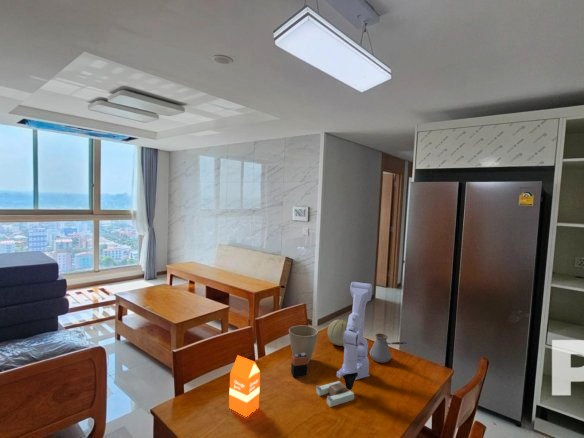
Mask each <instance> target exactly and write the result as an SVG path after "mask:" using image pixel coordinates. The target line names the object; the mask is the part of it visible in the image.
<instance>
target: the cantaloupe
mask: <svg viewBox="0 0 584 438" xmlns="http://www.w3.org/2000/svg"><path fill="white" fill-rule="evenodd" d="M347 323H348V321H346V320H344V318H343V317H342V318H341V319H334V320H333V321H331V322H330V323H329V325H328V326H327V327H328V328H327V337H328V339H329V342H330V343H332V344H333V345H336V346H338V347H344V342H343V335H344V331H345V330H346V328H347Z"/></svg>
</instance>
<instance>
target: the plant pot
mask: <svg viewBox="0 0 584 438" xmlns="http://www.w3.org/2000/svg"><path fill="white" fill-rule="evenodd" d="M318 333H319V332H318V329H317V328H315V327H313V326H309V325H300V324H299V325H295V326H291V327H290V328H289V329H288V336H289V343H290V349H291V352H292V355H294V354H301V353H305V354H306V356H307V357H308V364H309V363H310V362H311V358H312V356H313V353H314V351H315V347H316V343H317V340H318V339H317V338H318Z"/></svg>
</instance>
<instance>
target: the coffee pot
mask: <svg viewBox="0 0 584 438" xmlns="http://www.w3.org/2000/svg"><path fill="white" fill-rule="evenodd" d="M374 336H375V340H374V342H373V345H371V349H370V350H369V351H368V352H369V356H370V357H371V359H372V360H373V361H374V362H376V363H379V362H380V363H381V364H385V362H386V363H388V362H389V361H390V360H391V359H392V357H393V355H392V352H391V350H390V347H389V345H404V347H405V348H407V347H408V345H409V343H407V342H405V341H391V342H388V341H387V339H388V337H389V336H388V335H387V334H385V333H376V334H374ZM380 363H379V364H380Z"/></svg>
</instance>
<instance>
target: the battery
mask: <svg viewBox="0 0 584 438" xmlns="http://www.w3.org/2000/svg"><path fill="white" fill-rule="evenodd" d="M308 364H309V363H308V357H307V356H306V354H305V353H301V354H294V355H293V354H292V355H291V367H290V374H291V375H292V377H293V378H300V377H306V376H308Z"/></svg>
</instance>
